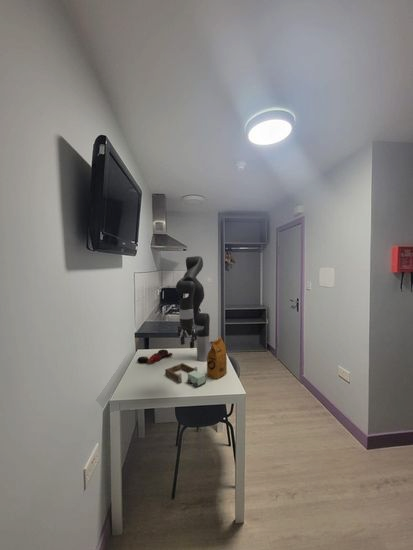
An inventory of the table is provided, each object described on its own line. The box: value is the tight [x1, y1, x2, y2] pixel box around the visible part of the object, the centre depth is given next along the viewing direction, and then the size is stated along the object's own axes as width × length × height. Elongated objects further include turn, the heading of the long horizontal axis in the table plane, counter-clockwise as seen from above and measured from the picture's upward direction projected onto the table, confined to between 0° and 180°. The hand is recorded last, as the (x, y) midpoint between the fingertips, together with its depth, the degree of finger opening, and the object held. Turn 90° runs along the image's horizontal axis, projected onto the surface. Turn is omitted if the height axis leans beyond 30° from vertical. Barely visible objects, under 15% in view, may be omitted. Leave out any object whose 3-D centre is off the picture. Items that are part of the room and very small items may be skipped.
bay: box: [164, 363, 198, 384], centre depth 144 cm, size 14×15×5 cm
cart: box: [186, 370, 207, 388], centre depth 134 cm, size 9×7×5 cm
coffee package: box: [206, 336, 228, 380], centre depth 144 cm, size 10×12×22 cm
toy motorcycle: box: [136, 349, 174, 364], centre depth 170 cm, size 25×5×16 cm
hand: (187, 346), depth 129 cm, fingers open, 8 cm apart
